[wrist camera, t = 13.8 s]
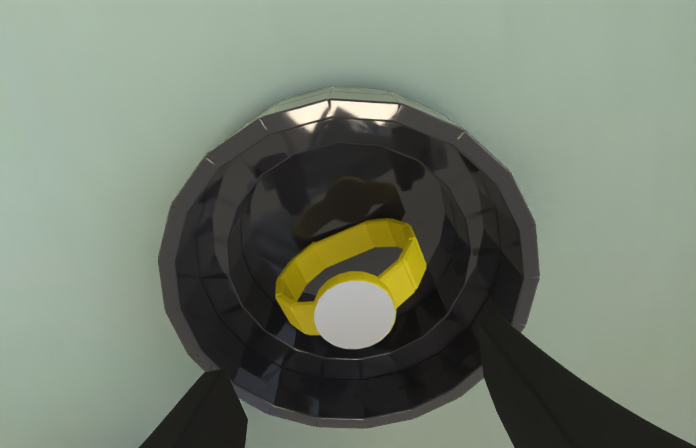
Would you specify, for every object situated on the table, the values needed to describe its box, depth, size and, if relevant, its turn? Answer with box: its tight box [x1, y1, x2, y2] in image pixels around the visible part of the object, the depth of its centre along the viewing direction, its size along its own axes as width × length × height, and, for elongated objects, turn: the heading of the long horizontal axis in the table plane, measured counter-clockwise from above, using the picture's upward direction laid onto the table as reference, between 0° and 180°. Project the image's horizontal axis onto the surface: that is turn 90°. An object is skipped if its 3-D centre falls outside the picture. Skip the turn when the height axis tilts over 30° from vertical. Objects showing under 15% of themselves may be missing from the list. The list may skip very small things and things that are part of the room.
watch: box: [275, 218, 427, 349], centre depth 16 cm, size 6×3×6 cm, turn 113°
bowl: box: [158, 87, 540, 428], centre depth 17 cm, size 14×14×5 cm
